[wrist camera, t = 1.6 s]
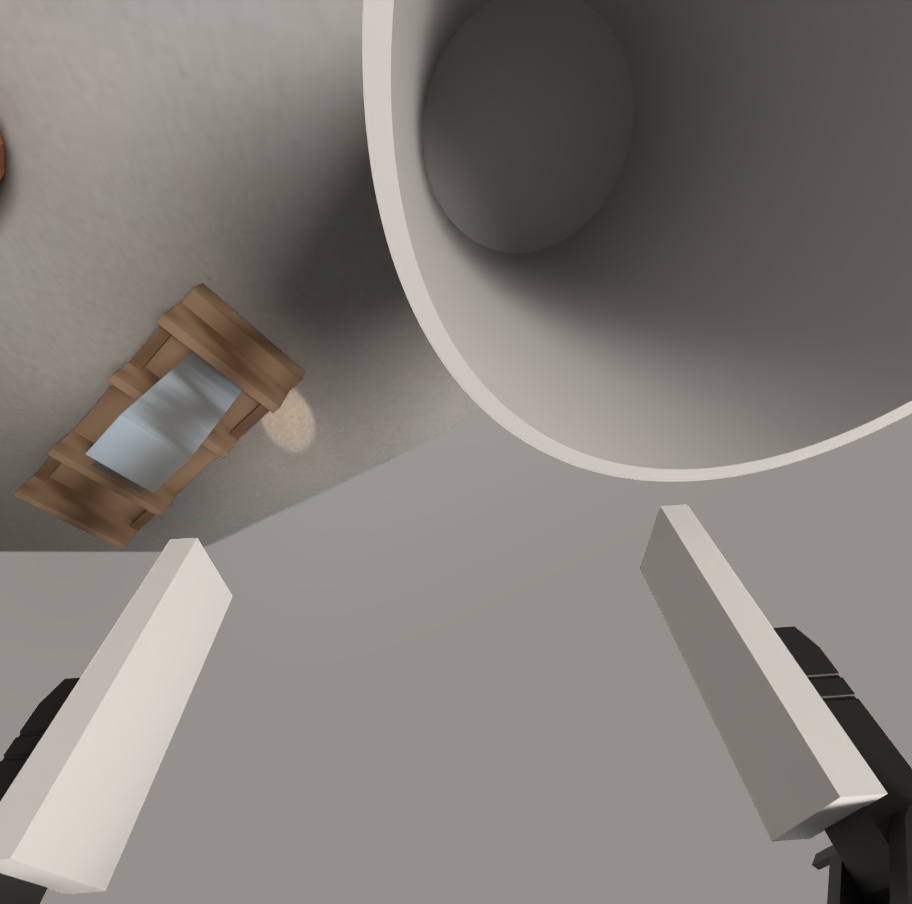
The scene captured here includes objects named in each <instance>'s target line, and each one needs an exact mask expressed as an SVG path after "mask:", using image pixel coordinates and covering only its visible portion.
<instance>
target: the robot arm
mask: <svg viewBox="0 0 912 904" xmlns="http://www.w3.org/2000/svg"><path fill="white" fill-rule="evenodd" d="M640 569H641V571H642V573H643V575H644V577H645V579H646V581H647V584H648V586H649V588H650V590H651V592H652V594H653V596H654V598H655V600H656V602H657V604H658V606H659V608H660V610H661V613H662V615H663V617H664V619H665V621H666V623H667V625H668V627H669V629H670V631H671V633H672V635H673V637H674V639H675V642H676V644H677V646H678V648H679V650H680V652H681V654H682V656H683V658H684V660H685V662H686V664H687V666H688V668H689V670H690V673H691V675H692V677H693V679H694V681H695V683H696V685H697V687H698V689H699V691H700V693H701V695H702V698H703V700H704V702H705V704H706V706H707V708H708V710H709V712H710V714H711V716H712V718H713V720H714V722H715V724H716V726H717V729H718V731H719V733H720V735H721V737H722V739H723V741H724V743H725V745H726V747H727V749H728V751H729V753H730V755H731V758H732V760H733V762H734V764H735V766H736V768H737V770H738V772H739V774H740V776H741V778H742V780H743V782H744V785H745V787H746V788H747V791H748V793H749V795H750V797H751V799H752V801H753V803H754V805H755V807H756V809H757V811H758V813H759V816H760V817H761V820H762V822H763V824H764V826H765V828H766V830H767V832H768V834H769V836H770V838H771V840H772V841H782V840H795V839H809V838H812V837H814V836H815V835H817V834H819V833H821V832H822V831H824V830H825V831H826V833H827V835H828V837H829V839H830V840H831V842H832V844H833V845H832V846H830V847H828V848H826V849H824V850H823V851H821V852H819V853H817V854H816V855H815V858H814V861H813V864H812V865H813V866H814V867H816V868H817V869H822V868H824V867H826V866H828V865H830V868H829V884H828V901H827V904H912V769H911V767H910V766H909V765H908V763H907V762H906V761H905V759H904V758H903V757H902V755H901V754H900V753H899V752H898V750H897V749H896V748H895V746H894V745H893V744H892V742H891V741H890V740H889V739H888V737H887V736H886V735H885V733H884V732H883V730H882V729H881V728H880V726H879V725H878V724H877V722H876V721H875V720H874V719H873V717H872V716H871V715H870V713H869V712H868V711H867V709H866V708H865V707H864V705H863V704H862V703H861V701H860V700H859V699H856V698H855V696H854V692H853V691H852V690H851V688H850V687H849V686H848V684H847V683H846V682H845V680H844V679H843V678H841V677H840V676H839V675H838V671H837V670H836V668H835V667H834V666H833V664H832V663H831V662H830V661H829V659H828V658H827V657H826V655H825V654H824V653H823V651H822V650H821V649H820V647H818V646H817V645H816V644H815V643H814V642H812V641H811V640H810V639H809V638H808V637H806V636H805V635H804V634H803V633H802V632H800V631H799V630H798V629H797V628H796V627H782V628H773V627H772V626H771V625H770V623H769V622H768V620H767V619H766V617H765V616H764V615H763V613H762V612H761V610H760V609H759V607H758V606H757V604H756V603H755V602H754V600H753V599H752V597H751V596H750V594H749V593H748V591H747V590H746V588H745V587H744V586H743V584H742V583H741V581H740V580H739V578H738V577H737V575H736V574H735V573H734V571H733V570H732V568H731V567H730V565H729V564H728V563H727V561H726V560H725V558H724V557H723V555H722V554H721V553H720V551H719V550H718V548H717V547H716V545H715V544H714V542H713V541H712V539H711V538H710V537H709V535H708V534H707V532H706V531H705V529H704V528H703V526H702V525H701V524H700V522H699V521H698V519H697V518H696V517H695V515H694V514H693V512H692V511H691V509H690V508H689V506H688V505H672V506H661V507H660V509H659V512H658V515H657V518H656V521H655V524H654V527H653V530H652V533H651V537H650V539H649V542H648V546H647V548H646V552H645V555H644V558H643V561H642V564H641V567H640ZM231 599H232V594H231V593H230V591H229V589H228V588H227V586H226V585H225V583H224V581H223V579H222V578H221V576H220V574H219V573H218V571H217V570H216V568H215V566H214V565H213V563H212V561H211V560H210V558H209V556H208V555H207V553H206V551H205V550H204V548H203V546H202V545H201V543H200V541H199V540H198V538H184V539H170V540H169V542H168V543H167V545H166V546H165V548H164V549H163V551H162V553H161V554H160V556H159V557H158V559H157V560H156V562H155V564H154V565H153V567H152V568H151V570H150V571H149V573H148V574H147V576H146V577H145V579H144V580H143V582H142V583H141V585H140V587H139V588H138V590H137V591H136V593H135V594H134V596H133V597H132V599H131V600H130V602H129V604H128V605H127V607H126V608H125V610H124V611H123V613H122V614H121V616H120V617H119V619H118V621H117V622H116V624H115V625H114V627H113V628H112V630H111V631H110V633H109V635H108V636H107V637H106V639H105V641H104V642H103V644H102V645H101V647H100V648H99V650H98V652H97V653H96V654H95V656H94V658H93V659H92V661H91V662H90V664H89V665H88V667H87V668H86V670H85V672H84V673H83V675H82V676H81V678H71V679H64V680H63V681H62V682H61V683H60V684H59V685H58V686H57V687H56V688H55V689H54V690H53V691H52V692H51V693H50V694H49V695H48V696H47V697H46V698H45V699H44V700H43V701H42V702H41V703H40V704H39V705H38V706H37V708H36V709H35V711H34V712H33V714H32V715H31V716H30V718H29V719H28V721H27V722H26V724H25V725H24V727H23V728H22V730H21V731H20V736H19V737H17V738H15V740H14V741H13V743H12V744H11V745H10V747H9V749H8V750H7V751H6V753H5V754H4V759H3V760H2V761H1V762H0V904H40V902H41V900H42V898H43V896H44V894H45V892H46V890H47V888H48V889H51V890H55V891H58V892H61V893H65V894H72V893H85V892H99V891H106V888H107V886H108V884H109V881H110V879H111V877H112V874H113V872H114V870H115V867H116V865H117V863H118V861H119V858H120V856H121V853H122V851H123V849H124V847H125V844H126V842H127V840H128V837H129V835H130V833H131V830H132V828H133V826H134V823H135V821H136V819H137V817H138V814H139V812H140V810H141V807H142V805H143V803H144V800H145V798H146V796H147V793H148V791H149V788H150V786H151V784H152V782H153V779H154V777H155V775H156V772H157V770H158V768H159V766H160V763H161V761H162V759H163V756H164V754H165V752H166V749H167V747H168V745H169V742H170V740H171V738H172V735H173V733H174V731H175V728H176V726H177V724H178V722H179V719H180V717H181V715H182V712H183V710H184V708H185V705H186V703H187V701H188V698H189V696H190V694H191V692H192V689H193V687H194V685H195V682H196V680H197V678H198V675H199V673H200V671H201V668H202V666H203V664H204V661H205V659H206V657H207V654H208V652H209V650H210V647H211V645H212V643H213V641H214V638H215V636H216V634H217V631H218V629H219V627H220V624H221V622H222V620H223V617H224V615H225V613H226V610H227V608H228V606H229V603H230V601H231Z"/></svg>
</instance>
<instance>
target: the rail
mask: <svg viewBox="0 0 912 904" xmlns="http://www.w3.org/2000/svg"><path fill="white" fill-rule="evenodd" d="M156 323H158V324H159V325H160V326H159V328H158V329H157V330H156V331H155V332H154V334H153V335H152V336H151V337H150V338H149V340H148V341H147V342H146V343H145V344H144V345H143V347H142V348H141V349H140V350H139V351H138V353H137V354H136V355H135V356H134V357H133V359H132V360H131V361H130V362H129V363H128V364H127V365H125V366H124V367H122V368H121V369H120V370H118V371H117V372H116V373H114V374H113V375H112V376H111V377H110V379H109V380H108V382H110V383H111V384H112V386H111V387H110V388H109V389H108V390H107V392H106V393H105V394H104V395H103V396H102V398H101V399H100V400H99V401H98V402H97V403H96V405H95V406H94V407H93V408H92V409H91V411H90V412H89V413H88V414H87V415H86V416H85V418H84V419H83V420H82V421H81V422H80V424H79V425H78V426H77V427H76V428H75V430H74V431H73V432H71V433H70V434H69V435H68V436H66V437H65V438H64V439H63V440H61V441H60V442H59V443H58V444H56V445H55V446H54V447H53V448H51V450H50V451H49V452H48V453H47V455H49V456H50V457H49V459H48V460H47V461H46V462H45V463H44V464H43V466H42V467H41V468H40V469H39V470H38V472H37V473H36V474H35V475H34V476H33V477H32V478H31V479H30V480H28V481H27V482H26V483H25V484H24V485H22V486H21V487H20V488H19V489H18V490H16V492H15V493H14V494H13V496H15V497H17V498H19V499H21V500H23V501H25V502H27V503H29V504H31V505H33V506H35V507H37V508H39V509H41V510H43V511H45V512H47V513H49V514H51V515H53V516H55V517H57V518H59V519H61V520H63V521H65V522H67V523H69V524H71V525H73V526H75V527H77V528H79V529H81V530H83V531H85V532H87V533H89V534H91V535H93V536H95V537H97V538H100V539H102V540H104V541H106V542H108V543H110V544H112V545H114V546H116V547H118V548H120V549H123V548H125V547H126V546H127V544H128V543H129V542H130V540H131V539H132V538H133V537H134V535H135V534H136V533H137V531H138V530H139V529H140V528H141V527H142V526H144V525H145V524H146V523H147V522H148V521H149V520H150V519H151V518H152V517H153V516H155V515H157V516H160V515H161V514H162V513H163V512H164V511H165V510H166V508H167V507H168V506H169V504H170V503H171V501H172V500H173V499H174V497H175V496H176V495H177V493H178V492H179V491H180V490H181V489H183V488H184V487H185V486H186V485H187V484H188V483H189V482H190V481H191V480H192V479H194V478H195V477H196V476H197V475H198V474H199V473H200V472H201V471H202V470H203V469H204V468H206V467H207V466H208V465H209V464H210V463H211V462H212V461H213V460H214V459H215V458H217V457H218V456H220V457H221V458H224V457H225V456H226V455H228V454H229V452H230V451H231V449H232V448H233V446H234V445H235V443H236V442H237V440H238V439H239V438H240V437H241V436H242V435H243V434H245V433H246V432H247V431H248V430H249V429H250V428H251V427H252V426H253V425H254V424H256V423H257V422H258V421H259V420H260V419H261V418H262V417H263V416H264V415H265V414H267V413H268V412H269V411H271V412H272V413H274V412H275V411H276V410H277V409H278V408H280V406H281V404H282V403H283V401H284V399H285V397H286V396H287V394H288V392H289V391H290V390H291V389H292V388H293V387H294V386H295V385H296V384H298V383H299V382H300V381H301V379H302V377H303V375H304V374H305V372H304V371H303V370H302V369H301V368H300V367H298V366H297V365H296V364H295V363H294V362H293V361H292V360H290V359H289V358H288V357H287V356H286V355H285V354H283V353H282V352H281V351H280V350H279V349H278V348H277V347H275V346H274V345H273V344H272V343H271V342H270V341H269V340H267V339H266V338H265V337H264V336H263V335H262V334H261V333H259V332H258V331H257V330H256V329H255V328H254V327H252V326H251V325H250V324H249V323H248V322H247V321H246V320H244V319H243V318H242V317H241V316H240V315H239V314H238V313H236V312H235V311H234V310H233V309H232V308H231V307H229V306H228V305H227V304H226V303H225V302H224V301H223V300H221V299H220V298H219V297H218V296H217V295H216V294H215V293H213V292H212V291H211V290H210V289H209V288H208V287H206V286H205V285H204V284H203V283H202V284H200V285H199V286H197V287H195V288H194V289H193V290H192V291H191V292H190V293H189V294H188V295H187V297H186V298H185V299H184V300H183V301H182V303H180V304H179V305H177V306H175V307H174V308H172V309H171V310H169V311H168V312H166V313H164V314H163V315H162V316H161V317H160V319H159V320H158V321H157V322H156Z"/></svg>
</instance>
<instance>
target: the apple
mask: <svg viewBox="0 0 912 904" xmlns="http://www.w3.org/2000/svg"><path fill="white" fill-rule="evenodd" d="M4 173H5V165H4V142H3V139H2V137H1V134H0V181H1V179H2V177H3V175H4Z"/></svg>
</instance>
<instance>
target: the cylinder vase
mask: <svg viewBox="0 0 912 904" xmlns="http://www.w3.org/2000/svg"><path fill="white" fill-rule="evenodd" d="M362 69H363V94H364V109H365V122H366V132H367V141H368V150H369V157H370V164H371V171H372V177H373V182H374V188H375V193H376V199H377V203H378V208H379V212H380V217H381V221H382V225H383V228H384V232H385V236H386V240H387V243H388V246H389V250H390V253H391V256H392V259H393V262H394V265H395V268H396V271H397V274H398V277H399V279H400V282H401V284H402V287H403V289H404V292H405V294H406V297H407V299H408V301H409V303H410V306H411V308H412V310H413V312H414V314H415V316H416V318H417V320H418V322H419V324H420V326H421V328H422V330H423V332H424V333H425V335H426V337H427V339H428V340H429V342H430V344H431V345H432V347H433V349H434V350H435V352H436V353H437V355H438V356H439V358H440V359H441V361H442V362H443V364H444V365H445V367H446V368H447V369H448V371H449V372H450V373H451V375H452V376H453V377H454V379H455V380H456V381H457V382H458V383H459V385H460V386H461V387H462V388H463V389H464V390H465V392H466V393H467V394H468V395H469V396H470V397H471V398H472V399H473V400H474V401H475V402H476V403H477V404H478V405H479V406H480V407H481V408H482V409H483V410H484V411H485V412H486V413H487V414H489V415H490V416H491V417H492V418H493V419H494V420H495V421H497V422H498V423H499V424H500V425H502V426H503V427H504V428H506V429H507V430H508V431H510V432H511V433H512V434H514V435H515V436H517V437H518V438H520V439H521V440H523V441H525V442H526V443H528V444H530V445H531V446H533V447H535V448H537V449H538V450H540V451H542V452H544V453H546V454H548V455H550V456H552V457H555V458H557V459H559V460H562V461H564V462H567V463H569V464H572V465H575V466H578V467H580V468H584V469H587V470H590V471H594V472H598V473H602V474H606V475H611V476H616V477H623V478H628V479H636V480H647V481H670V482H671V481H672V482H673V481H676V482H677V481H699V480H711V479H719V478H727V477H733V476H739V475H744V474H749V473H754V472H759V471H764V470H768V469H771V468H776V467H779V466H783V465H786V464H790V463H793V462H797V461H800V460H803V459H806V458H809V457H812V456H815V455H818V454H821V453H824V452H826V451H829V450H832V449H834V448H837V447H839V446H842V445H845V444H847V443H849V442H852V441H854V440H856V439H859V438H861V437H863V436H866V435H868V434H870V433H872V432H875V431H877V430H879V429H881V428H883V427H885V426H887V425H889V424H891V423H893V422H895V421H897V420H899V419H901V418H903V417H905V416H907V415H909V414H911V413H912V0H363V27H362Z"/></svg>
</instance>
